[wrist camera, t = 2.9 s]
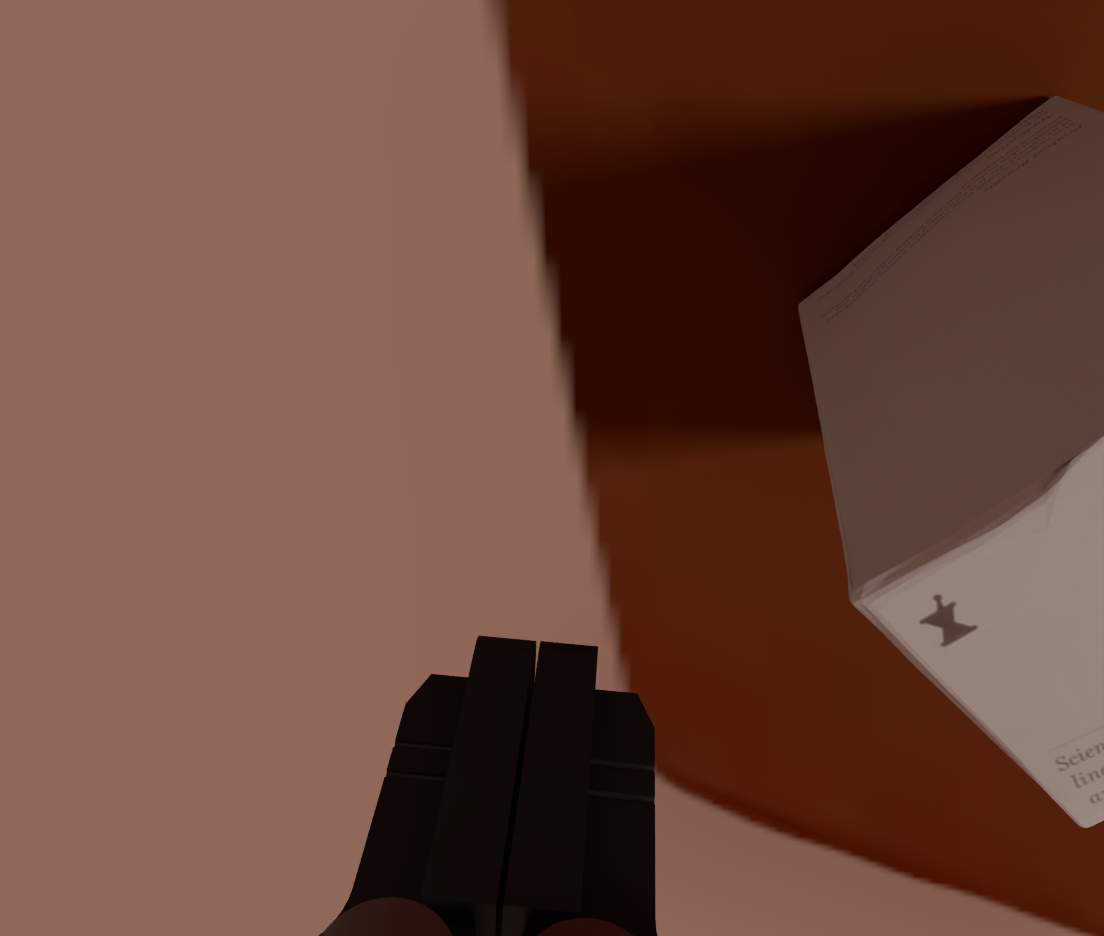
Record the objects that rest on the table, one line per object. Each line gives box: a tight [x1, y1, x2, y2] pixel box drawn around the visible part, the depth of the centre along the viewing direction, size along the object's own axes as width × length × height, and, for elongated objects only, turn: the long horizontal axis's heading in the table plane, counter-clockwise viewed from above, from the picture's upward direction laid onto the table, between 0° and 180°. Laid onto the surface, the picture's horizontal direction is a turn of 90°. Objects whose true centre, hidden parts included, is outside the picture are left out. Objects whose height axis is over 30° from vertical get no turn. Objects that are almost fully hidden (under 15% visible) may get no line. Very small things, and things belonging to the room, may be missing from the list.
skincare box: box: [798, 96, 1104, 828], centre depth 19 cm, size 8×6×15 cm
